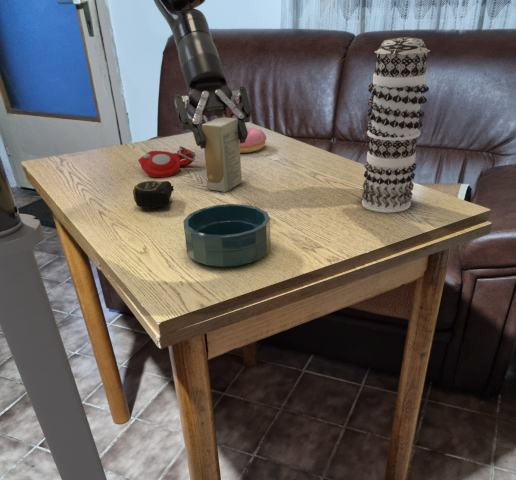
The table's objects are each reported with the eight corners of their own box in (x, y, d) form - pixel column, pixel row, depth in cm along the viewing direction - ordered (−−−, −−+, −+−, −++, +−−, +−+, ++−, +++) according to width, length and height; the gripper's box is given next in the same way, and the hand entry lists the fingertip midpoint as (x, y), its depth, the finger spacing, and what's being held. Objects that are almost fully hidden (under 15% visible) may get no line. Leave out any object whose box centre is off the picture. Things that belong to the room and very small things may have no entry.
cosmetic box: (224, 180, 105) (219, 116, 98) (242, 183, 103) (239, 117, 96) (206, 190, 100) (200, 123, 93) (225, 193, 98) (220, 125, 91)
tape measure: (170, 211, 92) (167, 190, 90) (132, 212, 92) (128, 192, 90) (175, 198, 97) (172, 178, 95) (139, 199, 97) (135, 179, 95)
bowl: (189, 274, 72) (184, 240, 69) (186, 238, 82) (182, 208, 79) (276, 265, 73) (275, 231, 70) (263, 231, 83) (262, 200, 80)
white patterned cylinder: (369, 216, 86) (385, 44, 72) (352, 197, 94) (363, 38, 79) (421, 210, 87) (446, 40, 73) (400, 192, 95) (419, 34, 80)
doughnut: (217, 145, 128) (216, 127, 125) (260, 140, 129) (260, 123, 127) (226, 156, 119) (224, 137, 116) (271, 151, 121) (271, 133, 118)
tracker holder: (164, 175, 105) (127, 158, 108) (167, 192, 109) (130, 175, 112) (200, 147, 112) (163, 131, 115) (201, 164, 115) (166, 149, 118)
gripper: (164, 54, 92) (188, 136, 90) (240, 48, 96) (264, 126, 94) (163, 83, 100) (184, 159, 97) (233, 76, 103) (255, 149, 101)
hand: (223, 143), depth 96 cm, fingers closed on cosmetic box, 7 cm apart
